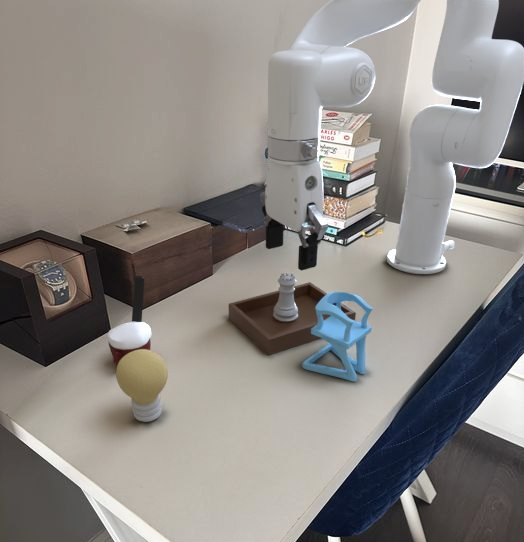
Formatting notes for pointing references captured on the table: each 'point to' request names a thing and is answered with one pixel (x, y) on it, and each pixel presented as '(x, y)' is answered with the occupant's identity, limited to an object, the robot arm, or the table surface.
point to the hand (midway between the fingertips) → (290, 257)
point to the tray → (272, 333)
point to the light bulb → (143, 382)
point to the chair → (340, 335)
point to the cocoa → (131, 328)
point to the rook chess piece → (286, 299)
